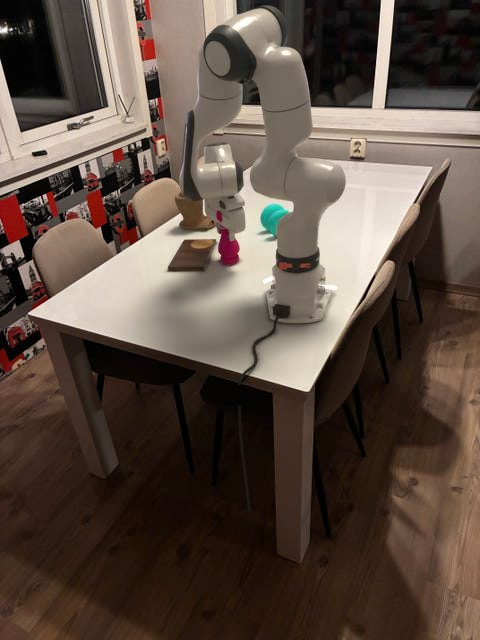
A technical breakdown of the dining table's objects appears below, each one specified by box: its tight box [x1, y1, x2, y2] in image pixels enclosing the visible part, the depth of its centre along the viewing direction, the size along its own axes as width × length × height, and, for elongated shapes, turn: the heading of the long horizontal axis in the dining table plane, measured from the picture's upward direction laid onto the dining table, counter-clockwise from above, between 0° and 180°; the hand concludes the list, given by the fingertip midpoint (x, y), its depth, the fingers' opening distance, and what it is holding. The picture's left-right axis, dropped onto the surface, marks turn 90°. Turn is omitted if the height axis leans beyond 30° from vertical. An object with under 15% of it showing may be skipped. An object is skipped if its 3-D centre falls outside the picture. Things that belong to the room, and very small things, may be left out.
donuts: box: [259, 203, 291, 237], centre depth 178 cm, size 10×10×10 cm
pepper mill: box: [216, 211, 241, 266], centre depth 159 cm, size 7×7×20 cm
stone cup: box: [174, 190, 216, 229], centre depth 188 cm, size 15×12×15 cm
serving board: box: [167, 238, 218, 272], centre depth 169 cm, size 22×12×2 cm, turn 171°
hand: (225, 236), depth 160 cm, fingers open, 6 cm apart
